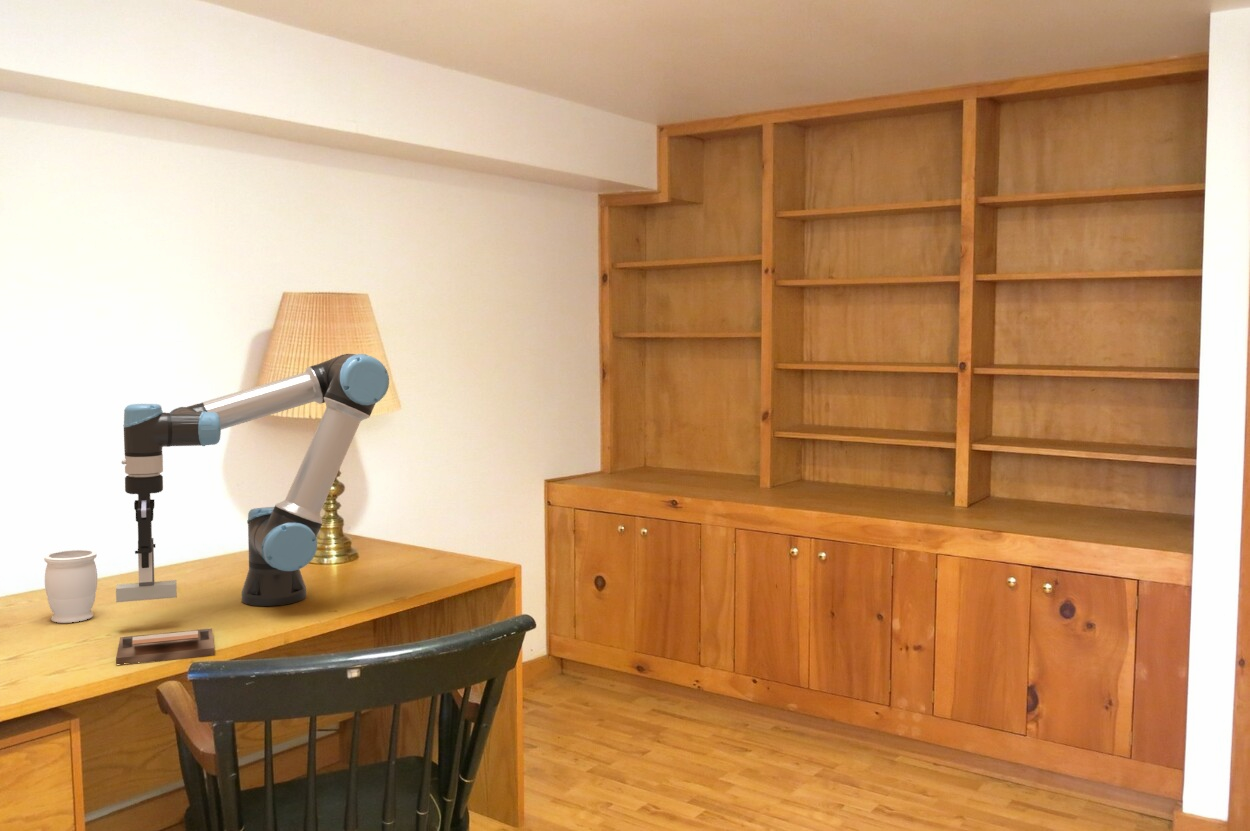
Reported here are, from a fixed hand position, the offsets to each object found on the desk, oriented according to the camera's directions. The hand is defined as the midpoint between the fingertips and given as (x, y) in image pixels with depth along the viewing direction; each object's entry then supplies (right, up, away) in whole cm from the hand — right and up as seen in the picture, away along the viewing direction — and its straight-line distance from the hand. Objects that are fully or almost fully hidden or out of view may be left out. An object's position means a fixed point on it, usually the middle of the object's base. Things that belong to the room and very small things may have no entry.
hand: (145, 579), depth 224 cm
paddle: (0, -4, 0) cm, 4 cm away
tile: (+12, -8, -17) cm, 22 cm away
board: (+11, -12, -13) cm, 21 cm away
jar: (-21, -10, +8) cm, 25 cm away
